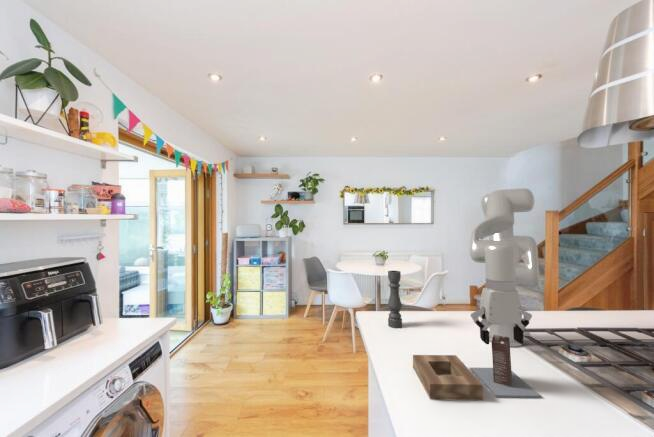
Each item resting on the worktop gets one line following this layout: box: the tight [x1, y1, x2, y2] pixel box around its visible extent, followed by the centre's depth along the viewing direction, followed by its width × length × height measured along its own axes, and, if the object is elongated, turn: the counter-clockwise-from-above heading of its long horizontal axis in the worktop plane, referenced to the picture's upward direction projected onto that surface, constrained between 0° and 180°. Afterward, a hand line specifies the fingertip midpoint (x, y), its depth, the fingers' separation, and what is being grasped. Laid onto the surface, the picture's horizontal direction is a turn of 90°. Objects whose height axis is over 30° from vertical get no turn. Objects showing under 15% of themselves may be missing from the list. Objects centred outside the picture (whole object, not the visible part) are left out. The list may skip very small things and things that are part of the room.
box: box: [491, 335, 513, 387], centre depth 79 cm, size 6×4×12 cm
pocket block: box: [412, 354, 484, 401], centre depth 79 cm, size 14×16×4 cm
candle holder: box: [387, 270, 403, 329], centre depth 124 cm, size 6×6×25 cm
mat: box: [469, 367, 543, 399], centre depth 79 cm, size 12×14×1 cm
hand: (501, 342), depth 80 cm, fingers open, 9 cm apart
